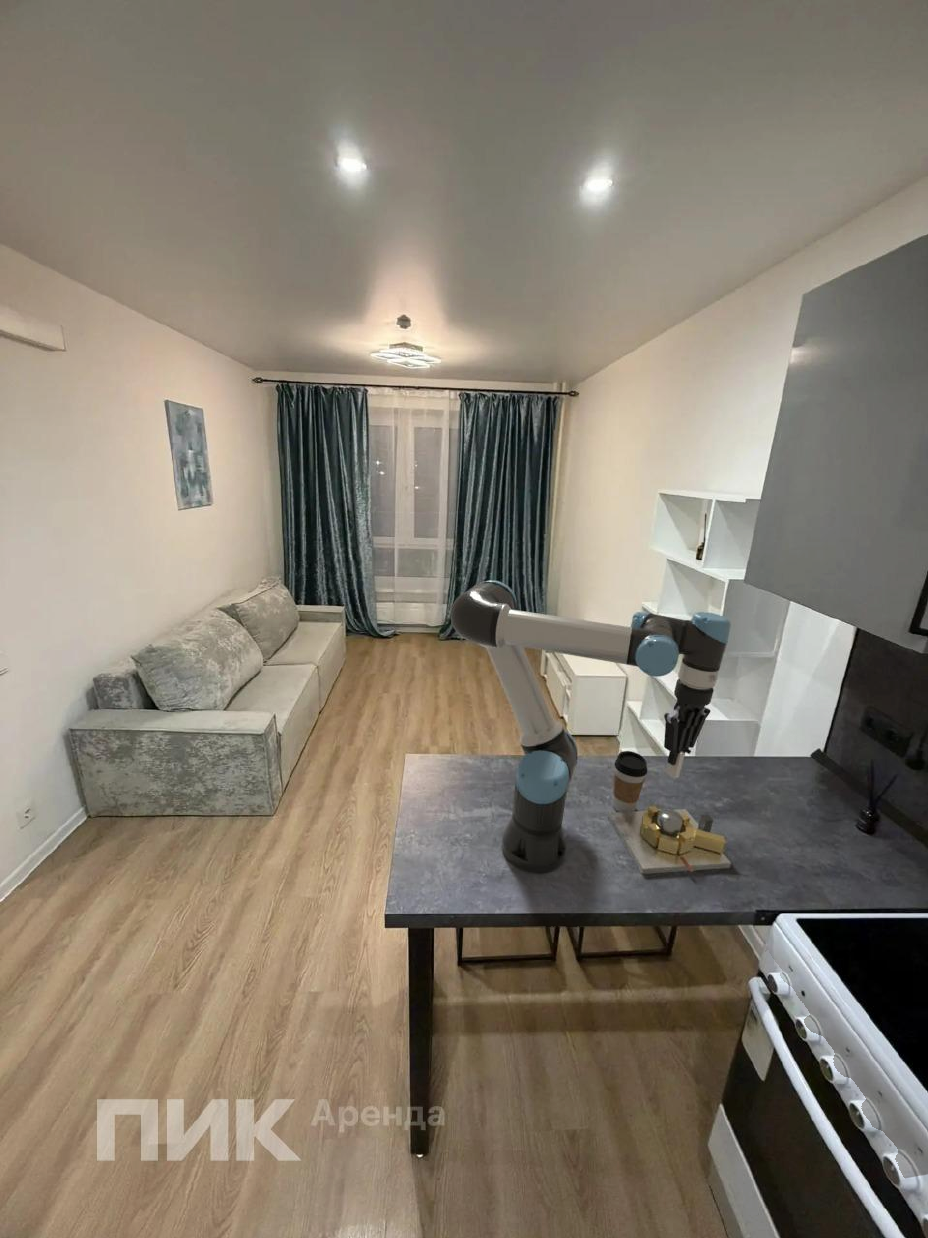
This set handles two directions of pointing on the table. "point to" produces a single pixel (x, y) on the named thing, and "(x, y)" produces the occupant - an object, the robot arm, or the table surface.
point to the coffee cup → (628, 780)
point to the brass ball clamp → (686, 835)
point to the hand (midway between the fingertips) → (671, 774)
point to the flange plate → (658, 856)
